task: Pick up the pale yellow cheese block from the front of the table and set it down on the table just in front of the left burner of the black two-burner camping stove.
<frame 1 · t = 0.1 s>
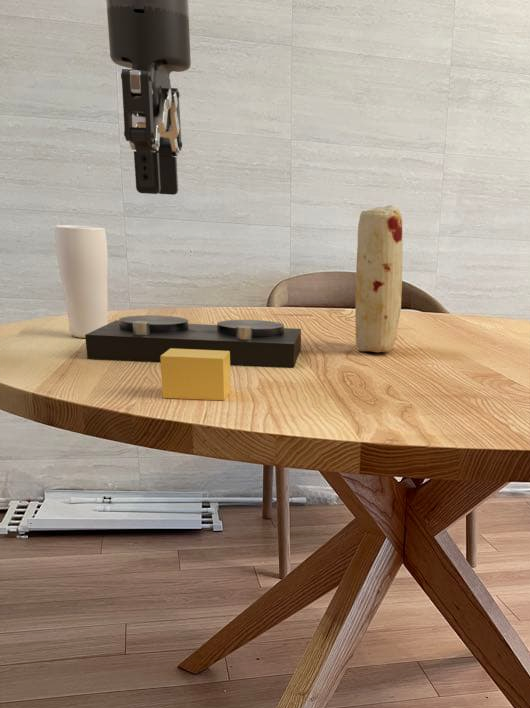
hand: (158, 194, 85), 20 cm above the table, tool pointing down, fingers open, 8 cm apart
stove: (201, 354, 112), on the table
food model: (376, 352, 122), on the table
cheese: (197, 394, 89), on the table
drinking glass: (89, 337, 121), on the table
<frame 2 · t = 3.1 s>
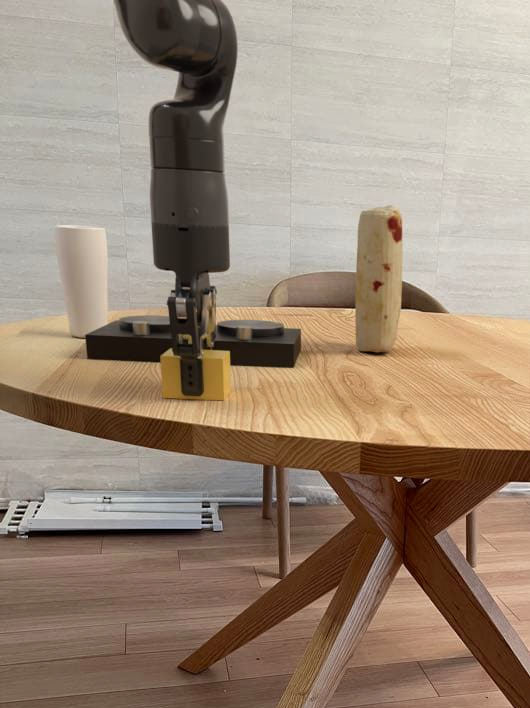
hand: (197, 389, 88), 1 cm above the table, tool pointing down, fingers closed on cheese, 4 cm apart
cheese: (197, 394, 89), on the table, touching gripper
everything else where it was.
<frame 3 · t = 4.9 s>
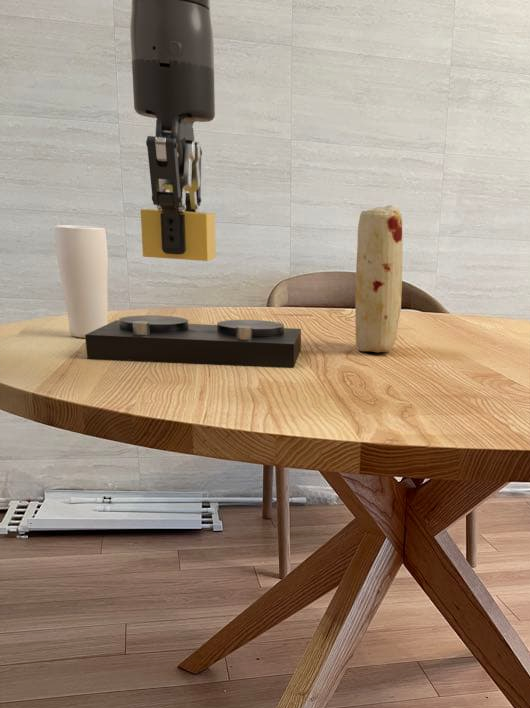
hand: (179, 251, 84), 14 cm above the table, tool pointing down, fingers closed on cheese, 4 cm apart
cheese: (180, 257, 84), point 14 cm above the table, touching gripper
everything else where it was.
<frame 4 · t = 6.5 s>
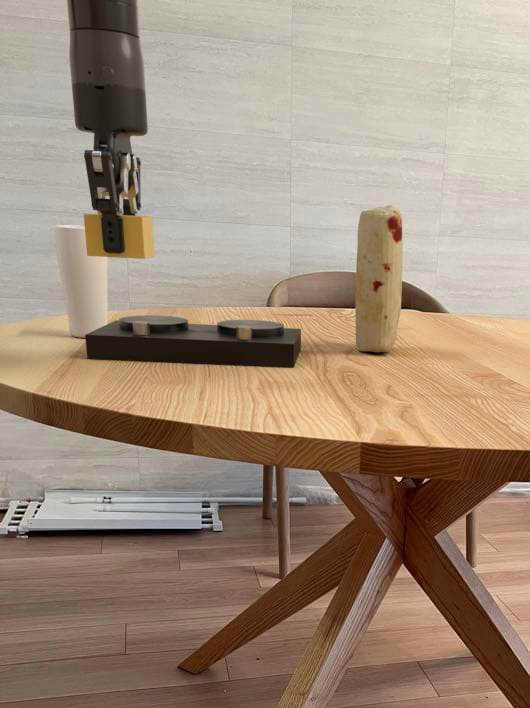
hand: (121, 251, 95), 13 cm above the table, tool pointing down, fingers closed on cheese, 4 cm apart
cheese: (121, 256, 95), point 13 cm above the table, touching gripper
everything else where it was.
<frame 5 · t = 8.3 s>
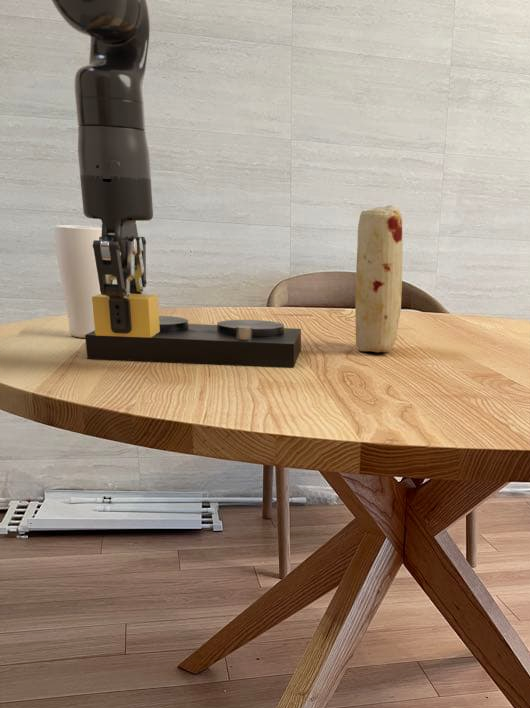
hand: (127, 328, 98), 5 cm above the table, tool pointing down, fingers closed on cheese, 4 cm apart
cheese: (128, 333, 99), point 4 cm above the table, touching gripper
everything else where it was.
when the fingers open (1 cm above the table, at t = 9.8 s): cheese stays where it is, on the table.
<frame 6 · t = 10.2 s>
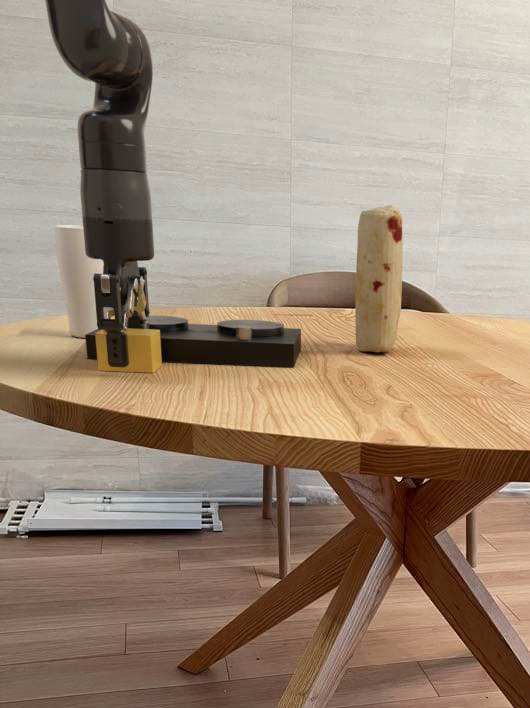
hand: (128, 360, 99), 1 cm above the table, tool pointing down, fingers open, 7 cm apart
cheese: (130, 368, 100), on the table
everything else where it was.
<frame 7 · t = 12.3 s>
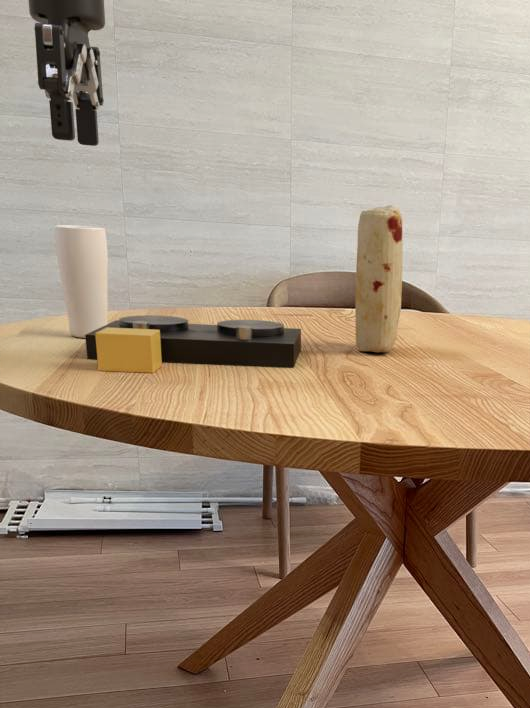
hand: (76, 142, 92), 25 cm above the table, tool pointing down, fingers open, 8 cm apart
nothing on the table moved.
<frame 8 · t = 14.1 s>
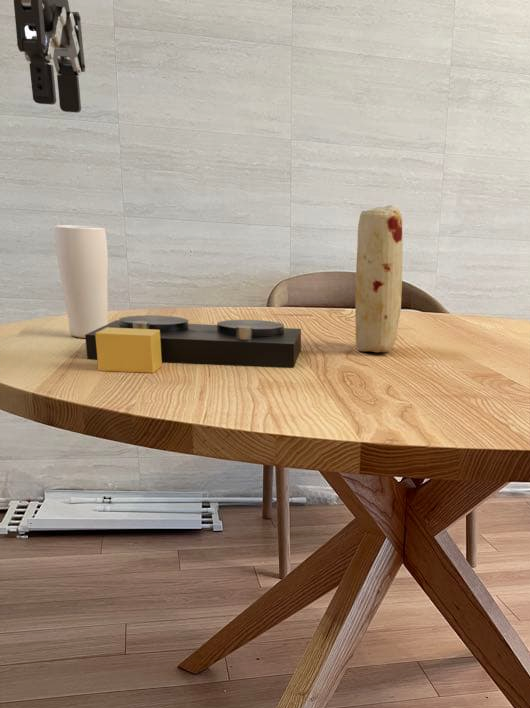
hand: (58, 108, 92), 28 cm above the table, tool pointing down, fingers open, 8 cm apart
nothing on the table moved.
at the end: cheese inside the target area on the table beside the stove (0.2 cm from its centre), on the table; cheese tilted 0°; the gripper is holding nothing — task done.
